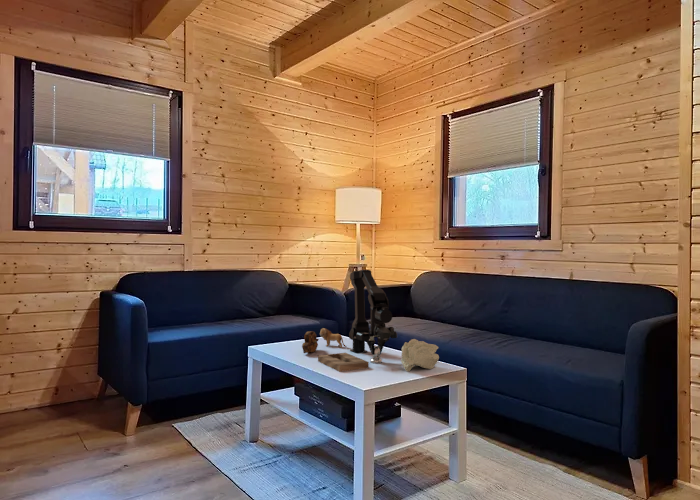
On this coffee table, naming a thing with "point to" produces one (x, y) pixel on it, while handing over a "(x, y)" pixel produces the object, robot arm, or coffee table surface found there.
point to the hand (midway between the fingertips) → (376, 354)
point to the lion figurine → (331, 337)
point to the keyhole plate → (343, 362)
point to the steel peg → (376, 355)
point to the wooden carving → (310, 342)
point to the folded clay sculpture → (419, 355)
